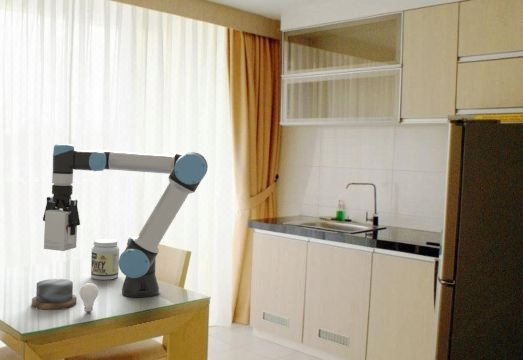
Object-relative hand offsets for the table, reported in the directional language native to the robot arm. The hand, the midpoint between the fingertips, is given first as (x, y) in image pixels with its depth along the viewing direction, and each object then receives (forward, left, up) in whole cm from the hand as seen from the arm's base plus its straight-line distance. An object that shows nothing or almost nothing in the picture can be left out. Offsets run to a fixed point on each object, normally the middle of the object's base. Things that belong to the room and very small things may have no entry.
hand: (60, 241), depth 223 cm
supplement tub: (+9, -38, -23) cm, 45 cm away
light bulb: (-20, +7, -23) cm, 32 cm away
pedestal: (-2, +5, -23) cm, 24 cm away
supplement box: (0, 0, -3) cm, 3 cm away
